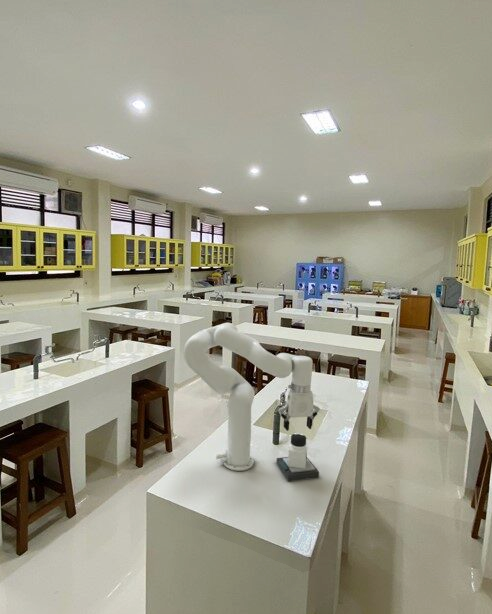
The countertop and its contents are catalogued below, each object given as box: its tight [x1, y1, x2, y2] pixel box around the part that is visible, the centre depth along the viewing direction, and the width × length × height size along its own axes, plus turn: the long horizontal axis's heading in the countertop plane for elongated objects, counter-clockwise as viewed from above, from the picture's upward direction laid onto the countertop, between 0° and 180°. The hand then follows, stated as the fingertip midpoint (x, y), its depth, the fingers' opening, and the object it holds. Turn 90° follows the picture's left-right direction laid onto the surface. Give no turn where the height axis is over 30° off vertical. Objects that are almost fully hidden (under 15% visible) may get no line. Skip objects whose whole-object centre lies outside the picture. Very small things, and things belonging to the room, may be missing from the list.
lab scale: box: [275, 456, 320, 482], centre depth 153 cm, size 13×13×3 cm
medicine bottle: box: [287, 432, 308, 469], centre depth 152 cm, size 7×7×12 cm
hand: (297, 428), depth 151 cm, fingers open, 9 cm apart
